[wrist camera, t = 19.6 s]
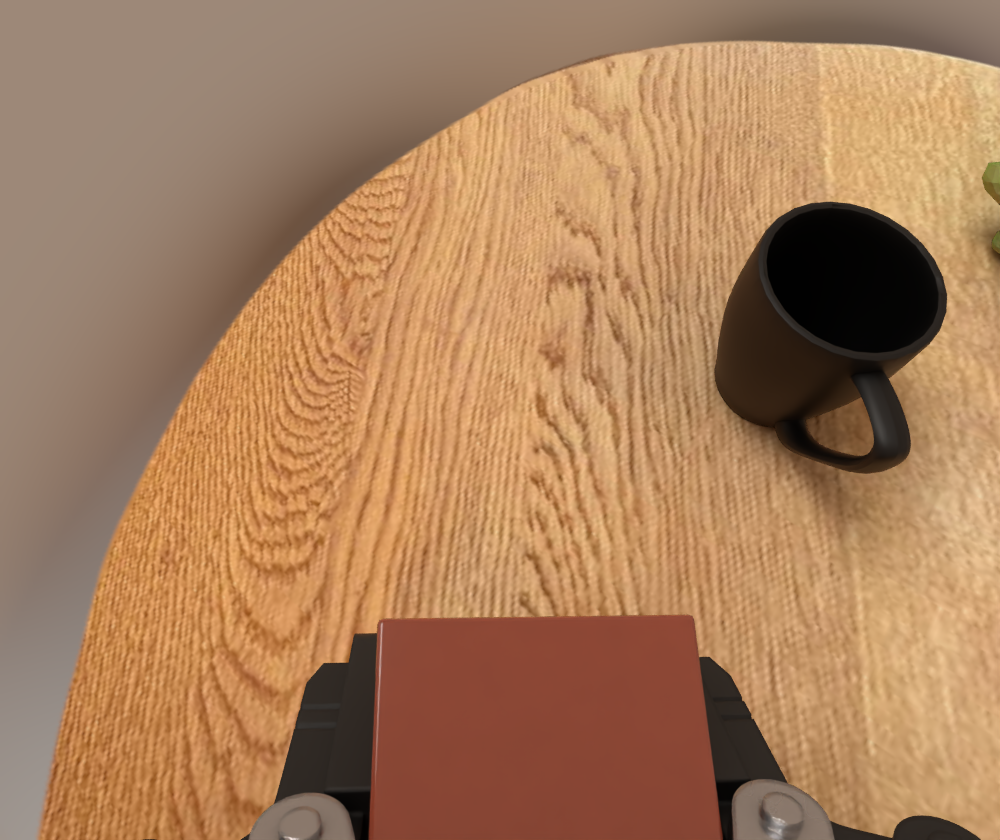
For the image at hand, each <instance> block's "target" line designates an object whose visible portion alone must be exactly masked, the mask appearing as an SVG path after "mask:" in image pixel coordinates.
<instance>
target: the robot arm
mask: <svg viewBox="0 0 1000 840" xmlns="http://www.w3.org/2000/svg"><path fill="white" fill-rule="evenodd" d="M376 649H377V633H369V634H355V635H354V638H353V643H352V648H351V653H350V658H349V663H324V664H323V665H322V666H321V667H320V668H319V669H318V670H317V672H316V673H315V674H314V675H313V676H312V677H311V679H310V680H309V681H308V682H307V684H306V687H305V691H304V695H303V699H302V702H301V708H300V710H299V713H298V717H297V721H296V727H295V729H294V732H293V736H292V740H291V743H290V747H289V751H288V755H287V758H286V762H285V766H284V770H283V773H282V777H281V781H280V785H279V788H278V792H277V796H276V799H275V802H274V804H273V805H272V806H270V807H269V808H268V809H267V810H266V811H264V812H263V814H262V815H261V816H260V817H259V818H258V819H257V821H256V822H255V824H254V826H253V828H252V830H251V832H250V834H249V835H247V836H246V837H244V838H242V839H241V840H368V833H369V810H370V787H371V764H372V741H373V718H374V695H375V672H376ZM699 661H700V668H701V676H702V683H703V691H704V698H705V706H706V713H707V721H708V728H709V736H710V743H711V751H712V759H713V766H714V774H715V781H716V789H717V796H718V804H719V811H720V819H721V826H722V834H723V840H981V839H979V838H978V837H977V836H975V835H974V834H973V833H971V832H970V831H968V830H966V829H964V828H963V827H961V826H959V825H957V824H954V823H952V822H950V821H947V820H944V819H941V818H937V817H932V816H912V817H908V818H906V819H904V820H902V821H901V822H900V823H899V824H898V825H897V826H896V828H895V831H894V834H893V838H889V837H885V836H881V835H877V834H873V833H868V832H864V831H860V830H856V829H852V828H848V827H845V826H842V825H839V824H836V823H834V822H832V821H830V820H829V818H828V816H827V814H826V812H825V811H824V810H823V808H822V807H821V806H820V805H819V804H818V803H817V802H816V801H815V800H814V799H813V798H812V797H811V796H809V795H808V794H807V793H805V792H804V791H802V790H800V789H798V788H797V787H795V786H793V785H790V784H788V783H787V781H786V779H785V777H784V775H783V773H782V772H781V770H780V768H779V766H778V764H777V762H776V760H775V758H774V757H773V755H772V753H771V751H770V749H769V747H768V745H767V743H766V741H765V740H764V738H763V736H762V734H761V732H760V730H759V728H758V726H757V725H756V723H755V721H754V719H752V718H751V713H750V711H749V710H748V708H747V706H746V704H745V702H744V701H742V696H741V694H740V693H739V691H738V689H737V687H736V685H735V683H734V681H733V679H732V678H731V676H730V675H729V674H728V673H727V672H726V671H725V670H724V669H723V668H721V667H720V666H719V665H718V664H717V663H716V662H715V661H713V660H712V659H711V658H710V657H699ZM145 840H155V839H145Z"/></svg>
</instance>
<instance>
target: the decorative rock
mask: <svg viewBox="0 0 1000 840" xmlns="http://www.w3.org/2000/svg"><path fill="white" fill-rule="evenodd" d="M982 180H983V185H984V188H985V190H986V191H987V192H988V193H989V194H990V195H991V196H992V197H993V198H994V200H995V201H996V202H997V203H998V204H999V205H1000V162H994V163H988V166H987V168H986V170H985V172H984V174H983V177H982ZM992 248H993V249H994V250H995V251H996V252H997V253H999V254H1000V231H998V232H997V233H996V235H995V236H994V238H993V240H992Z"/></svg>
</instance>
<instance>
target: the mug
mask: <svg viewBox="0 0 1000 840" xmlns="http://www.w3.org/2000/svg"><path fill="white" fill-rule="evenodd" d="M946 305H947V293H946V289H945V284H944V280H943V276H942V274H941V272H940V270H939V268H938V266H937V264H936V262H935V260H934V258H933V257H932V256H931V255H930V253H929V252H928V251H927V249H926V248H925V247H924V245H923V244H922V243H921V242H920V241H919V240H918V239H917V238H916V237H914V236H913V235H912V234H911V233H910V232H909V231H908V230H907V229H905V228H904V227H902V226H901V225H899V224H898V223H896V222H895V221H893V220H892V219H890V218H888V217H886V216H884V215H882V214H880V213H877V212H875V211H873V210H871V209H868V208H864V207H860V206H857V205H853V204H848V203H838V202H821V203H811V204H807V205H804V206H801V207H798V208H794V209H792V210H791V211H789V212H787V213H786V214H784V215H782V216H781V217H779V218H778V219H776V220H775V222H774V223H773V224H772V225H771V226H770V227H769V228H768V229H767V230H766V231H765V233H764V234H763V236H762V238H761V239H760V241H759V243H758V244H757V246H756V247H755V249H754V251H753V252H752V254H751V256H750V257H749V259H748V261H747V262H746V264H745V266H744V268H743V269H742V271H741V273H740V275H739V277H738V279H737V281H736V283H735V285H734V287H733V289H732V292H731V294H730V297H729V299H728V302H727V306H726V309H725V312H724V316H723V321H722V326H721V331H720V336H719V342H718V350H717V360H716V365H715V381H716V384H717V387H718V390H719V392H720V394H721V396H722V398H723V399H724V401H725V402H726V403H727V404H728V406H729V407H730V408H731V409H732V410H733V411H734V412H736V413H737V414H738V415H740V416H741V417H743V418H744V419H746V420H748V421H750V422H753V423H755V424H759V425H762V426H769V427H775V429H776V433H777V436H778V438H779V440H780V441H781V443H782V444H783V445H784V446H785V447H786V448H788V449H789V450H791V451H792V452H794V453H796V454H799V455H801V456H803V457H806V458H809V459H812V460H814V461H817V462H820V463H823V464H826V465H829V466H832V467H835V468H838V469H841V470H845V471H848V472H854V473H865V474H868V473H876V472H882V471H885V470H887V469H890V468H892V467H895V466H897V465H898V464H900V463H901V462H903V461H904V460H905V459H906V458H907V456H908V454H909V452H910V446H911V441H910V433H909V429H908V425H907V421H906V418H905V415H904V412H903V410H902V407H901V404H900V402H899V400H898V397H897V395H896V393H895V391H894V389H893V387H892V385H891V383H890V381H889V378H890V377H891V376H892V375H894V374H895V373H896V372H897V371H899V370H900V369H901V368H902V367H903V366H905V365H906V364H907V363H908V362H909V361H910V360H911V359H913V358H914V357H915V356H916V355H917V354H918V353H920V352H921V351H922V350H923V349H924V348H925V347H927V346H928V345H929V344H930V343H931V341H932V340H933V339H934V337H935V336H936V335H937V333H938V332H939V331H940V328H941V326H942V323H943V320H944V317H945V314H946ZM860 397H862V399H863V401H864V404H865V406H866V409H867V412H868V414H869V417H870V421H871V424H872V428H873V434H874V445H873V448H872V450H871V451H870V452H869V453H868V454H867V455H864V456H854V455H849V454H845V453H841V452H838V451H835V450H832V449H829V448H827V447H825V446H823V445H821V444H819V443H818V442H817V441H816V440H815V439H814V438H813V437H812V436H811V434H810V432H809V430H808V428H807V425H806V420H805V419H809V418H812V417H815V416H818V415H821V414H823V413H826V412H829V411H831V410H834V409H836V408H839V407H841V406H844V405H846V404H848V403H850V402H852V401H854V400H856V399H858V398H860Z"/></svg>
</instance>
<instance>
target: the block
mask: <svg viewBox="0 0 1000 840" xmlns="http://www.w3.org/2000/svg"><path fill="white" fill-rule="evenodd" d="M368 840H723V834H722V826H721V819H720V811H719V804H718V796H717V789H716V781H715V774H714V766H713V759H712V751H711V743H710V736H709V728H708V721H707V713H706V706H705V698H704V691H703V683H702V676H701V668H700V661H699V653H698V646H697V638H696V630H695V623H694V619H693V617H692V616H690V615H623V616H549V617H475V618H401V619H382V620H379V622H378V626H377V649H376V672H375V695H374V718H373V741H372V764H371V787H370V810H369V833H368Z"/></svg>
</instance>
